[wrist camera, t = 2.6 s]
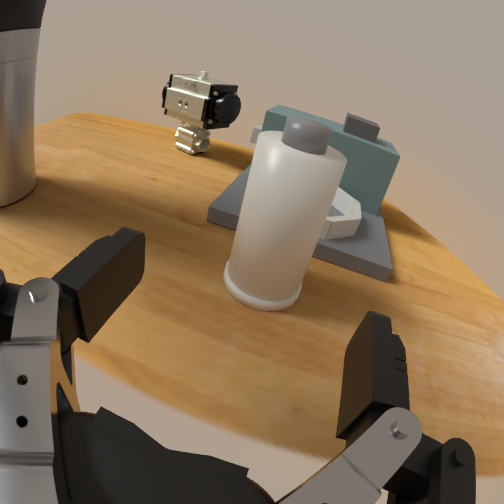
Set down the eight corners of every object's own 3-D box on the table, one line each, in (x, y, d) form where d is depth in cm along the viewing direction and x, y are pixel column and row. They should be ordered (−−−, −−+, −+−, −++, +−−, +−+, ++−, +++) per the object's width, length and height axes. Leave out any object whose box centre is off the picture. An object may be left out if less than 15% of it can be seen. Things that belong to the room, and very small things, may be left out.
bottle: (211, 293, 23) (248, 115, 16) (236, 250, 28) (272, 104, 21) (292, 321, 22) (360, 150, 15) (303, 273, 27) (356, 131, 20)
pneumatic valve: (177, 137, 50) (189, 66, 43) (230, 161, 45) (248, 80, 39) (150, 141, 46) (161, 65, 39) (202, 167, 41) (219, 78, 35)
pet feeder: (200, 218, 31) (222, 99, 24) (252, 163, 46) (270, 88, 40) (386, 282, 29) (440, 173, 22) (374, 205, 44) (402, 132, 38)
